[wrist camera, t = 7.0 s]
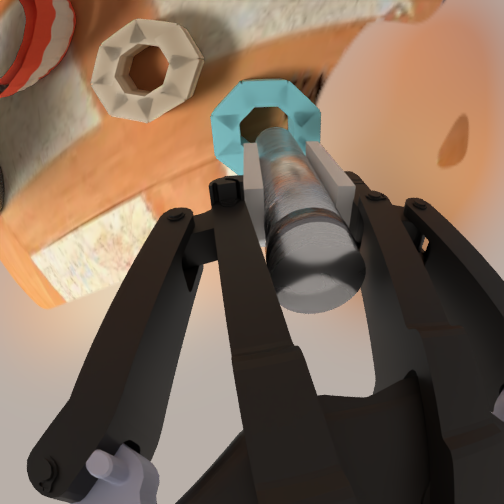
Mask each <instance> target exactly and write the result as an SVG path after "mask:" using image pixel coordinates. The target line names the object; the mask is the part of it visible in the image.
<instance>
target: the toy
mask: <svg viewBox="0 0 504 504" xmlns="http://www.w3.org/2000/svg"><path fill="white" fill-rule="evenodd" d="M19 1H20V2H21V4H22V5H23V8H24V11H25V16H26V25H25V30H24V37H23V41H22V44H21V46H20V49H19V51H18V54H17V56H16V59H15V61H14V63H13V64H12V66H11V67H10V68H9V70H8V71H7V72H6V74H5V75H4V76H3V77H0V98H2V97H6V96H10V95H13V94H14V93H16V92H18V91H21V90H25V89H26V88H27V87H29V86H32V85H34V84H35V83H36V82H37V81H38V80H39V79H40V78H43V77H45V76H46V75H48V74H49V73H50V71H51V70H53V69H54V68H55V67H56V66H57V65H58V64H59V63H60V62H61V60H62V58H63V57H64V56H65V54H66V52H67V49H68V47H69V45H70V42H71V39H72V37H73V33H74V29H75V24H76V21H75V19H76V16H75V12H74V9H73V7H72V6H71V2H70V1H69V0H19Z"/></svg>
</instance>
